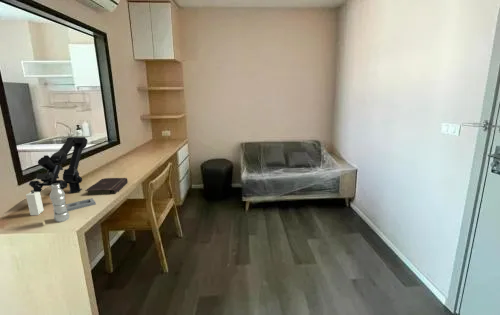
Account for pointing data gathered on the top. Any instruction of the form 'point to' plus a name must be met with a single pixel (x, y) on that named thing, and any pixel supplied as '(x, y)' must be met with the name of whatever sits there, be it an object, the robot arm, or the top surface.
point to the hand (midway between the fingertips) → (43, 198)
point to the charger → (34, 203)
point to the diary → (107, 186)
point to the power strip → (80, 204)
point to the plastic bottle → (58, 203)
